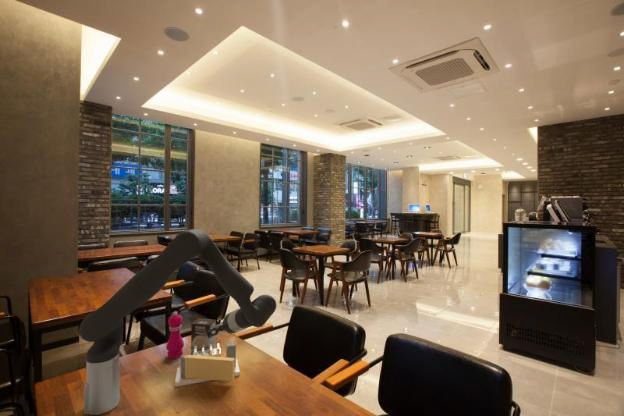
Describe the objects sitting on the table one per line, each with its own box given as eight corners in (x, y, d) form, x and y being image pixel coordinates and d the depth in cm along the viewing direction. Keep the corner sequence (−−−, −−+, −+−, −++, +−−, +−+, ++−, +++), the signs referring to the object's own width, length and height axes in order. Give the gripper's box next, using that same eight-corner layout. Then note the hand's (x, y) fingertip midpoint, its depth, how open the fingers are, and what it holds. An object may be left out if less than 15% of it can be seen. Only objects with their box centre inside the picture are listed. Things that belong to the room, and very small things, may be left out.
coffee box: (190, 359, 134) (190, 323, 133) (196, 352, 140) (197, 318, 140) (209, 360, 133) (210, 324, 132) (215, 353, 139) (216, 319, 139)
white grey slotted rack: (174, 386, 114) (175, 359, 114) (177, 371, 125) (177, 345, 124) (239, 375, 122) (239, 349, 122) (236, 361, 133) (237, 337, 132)
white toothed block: (192, 372, 121) (192, 352, 121) (192, 365, 126) (193, 346, 126) (221, 367, 125) (221, 348, 125) (220, 361, 130) (220, 342, 130)
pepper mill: (167, 352, 140) (167, 309, 139) (184, 350, 142) (184, 308, 141) (165, 360, 133) (165, 315, 132) (182, 358, 135) (183, 313, 134)
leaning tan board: (179, 377, 117) (179, 357, 117) (182, 374, 120) (182, 354, 119) (232, 381, 115) (232, 361, 115) (234, 377, 118) (234, 357, 117)
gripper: (249, 303, 115) (230, 312, 125) (216, 318, 104) (198, 327, 114) (257, 322, 113) (237, 330, 123) (224, 340, 102) (205, 347, 113)
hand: (218, 329), depth 119 cm, fingers open, 8 cm apart
